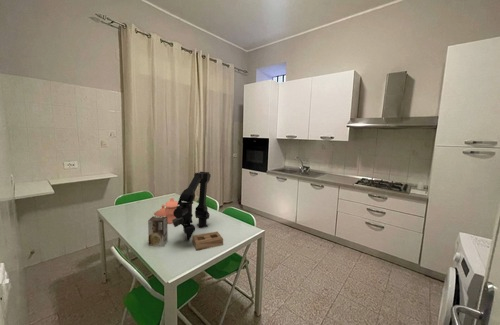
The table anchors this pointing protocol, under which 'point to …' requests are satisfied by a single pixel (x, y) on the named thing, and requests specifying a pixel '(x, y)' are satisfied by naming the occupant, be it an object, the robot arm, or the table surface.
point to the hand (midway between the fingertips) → (186, 236)
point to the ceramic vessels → (168, 210)
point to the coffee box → (157, 231)
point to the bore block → (207, 240)
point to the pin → (185, 238)
